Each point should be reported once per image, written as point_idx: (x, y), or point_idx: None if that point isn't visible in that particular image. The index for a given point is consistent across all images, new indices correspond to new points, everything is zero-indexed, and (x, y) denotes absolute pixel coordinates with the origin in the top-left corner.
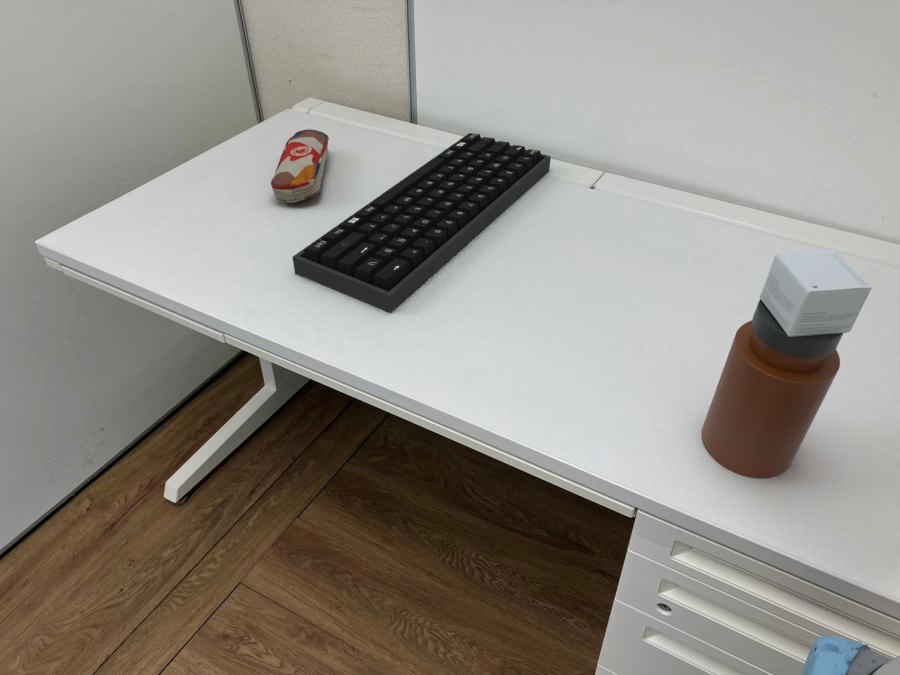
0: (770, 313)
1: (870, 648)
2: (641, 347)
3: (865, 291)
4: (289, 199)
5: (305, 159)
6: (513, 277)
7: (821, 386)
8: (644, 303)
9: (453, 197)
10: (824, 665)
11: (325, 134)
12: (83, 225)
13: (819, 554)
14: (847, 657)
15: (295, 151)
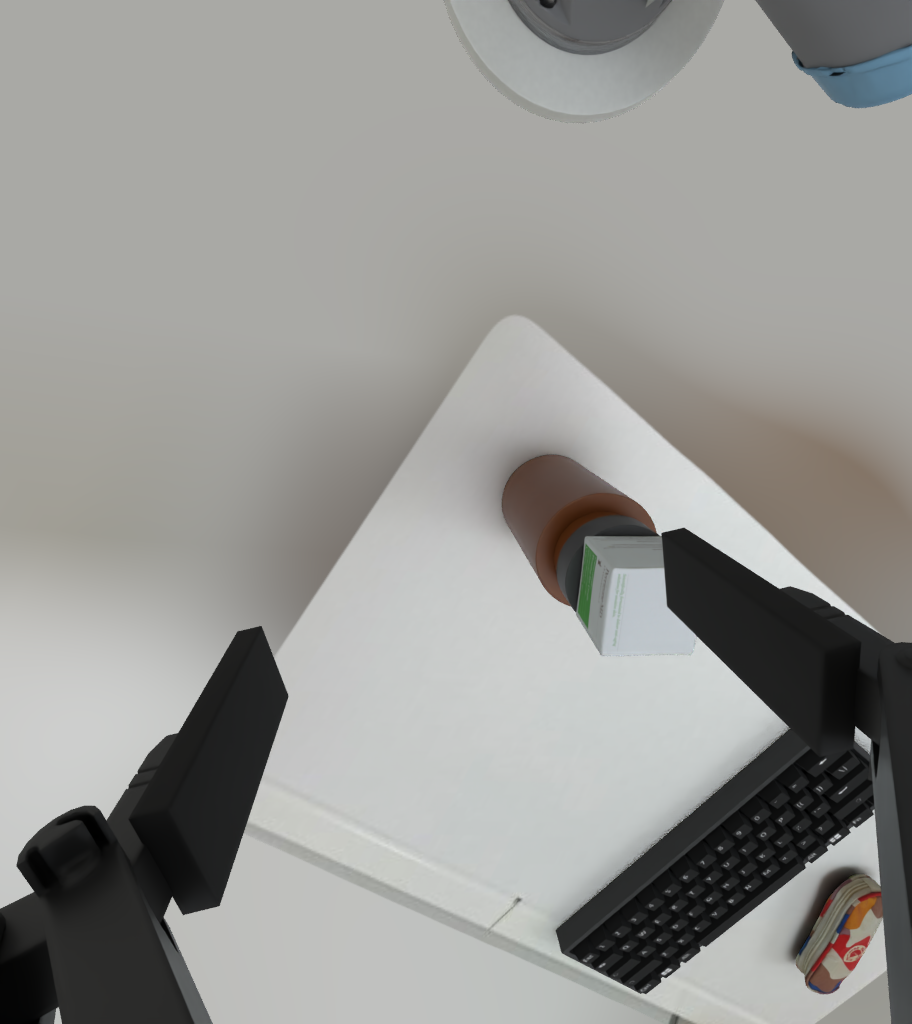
0: None
1: (908, 48)
2: (587, 641)
3: (620, 564)
4: (865, 878)
5: (857, 938)
6: (673, 753)
7: (583, 492)
8: (551, 706)
9: (715, 875)
10: None
11: (808, 986)
12: None
13: (552, 358)
14: None
15: (860, 952)
